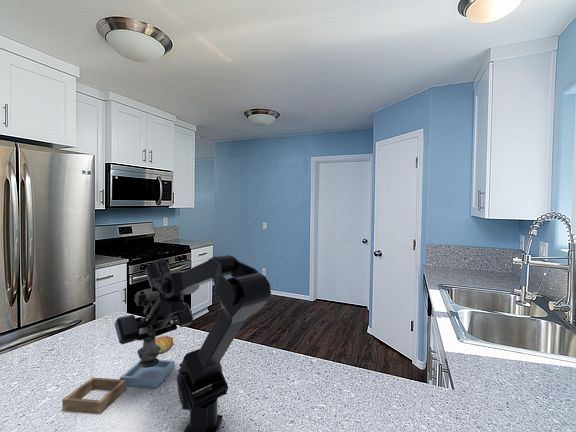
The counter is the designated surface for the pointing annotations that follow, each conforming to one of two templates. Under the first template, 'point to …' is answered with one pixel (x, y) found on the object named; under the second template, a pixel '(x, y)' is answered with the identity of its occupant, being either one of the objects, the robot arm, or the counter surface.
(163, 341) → the pastry
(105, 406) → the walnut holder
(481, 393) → the counter surface
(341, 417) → the counter surface
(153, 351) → the grey stone chess piece
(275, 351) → the counter surface
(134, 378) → the slate tray
